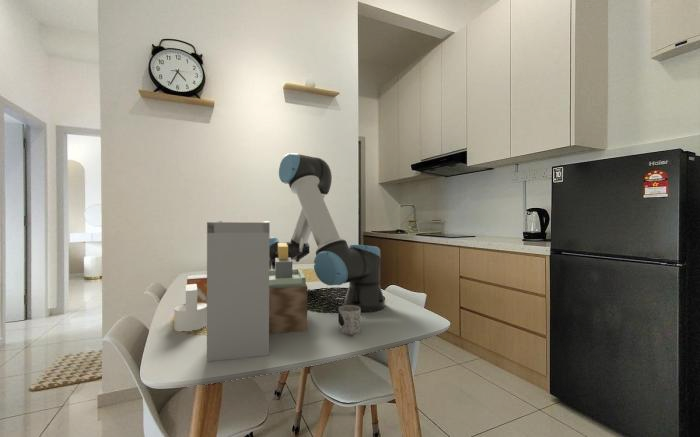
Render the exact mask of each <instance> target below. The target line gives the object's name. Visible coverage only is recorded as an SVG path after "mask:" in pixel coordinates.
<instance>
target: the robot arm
mask: <svg viewBox="0 0 700 437" xmlns="http://www.w3.org/2000/svg"><path fill="white" fill-rule="evenodd" d="M332 176H333V175H332V170H331V167H330V166H329V164H328V163H327V162H326V161H325V160H324V159H322V158H320V157H314V156H309V155H304V154H299V153H287V154H285V155H284V156H283V158H282V160H281V161H280V163H279V168H278V178H279V180H280V181H281V183H284V184H285V185H286V184H288V185H289V186H288V187H289V188H290V191H291V192H292V193H293V194H296V195H297V197H298V200H299V203H300V205H301V211H300V213H299V216H298V219H297V221H296V224H295V228H294V231H293V233H292V237H291V239H290V241H282V242H280V241H279V238H278V237H275V236H274V237H273V236H272V237H269V270H275V258H278V243H287V245H288V258H291V259H292V261H295V263H296V262H300V260H302V259H303V258H304V257H306V256H308V255H309V254H310V244H309V242H308V241H309V239H310V235H311V234H312V236H313V239H314V241H315V243H316V246H317V249H316V251H315V258H314V260H313V263H314V265H313V270H314V273H315V275H316V277H317V278H318V280H319V281H320V282H321V283H323V284H324V285H327V286H332V287H333V286H341V285H343V284H347V283H349V286H348V287H347V288H348V289H347V291H346V293H345V298H344V305H355V306H359V307H360V308H361V312H365V313H366V312H367V313H368V312H375V311H376V310H377V311H380V309H381V310H382V308H383V309H384V308H385V297H384V295H383V292H382V288H381V259H382V257H381V249H380V248H379V247H378V246H375V245H374V246H373V245H365V244H364V245H363V244H354V243H353V244H350V245H348V243H347V241H346V239H343V238H341V237H340V235H339V232H338V230H337V228H336V226H335V223H334V220H333V219H332V216H331V213H330V211H329V208H328V206H327V204H326V202H325V197H326V196H327V195H329V192H330V189H331V186H332V178H333V177H332ZM377 311H376V312H377Z"/></svg>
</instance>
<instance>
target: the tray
mask: <svg viewBox="0 0 700 437" xmlns="http://www.w3.org/2000/svg"><path fill="white" fill-rule="evenodd" d="M306 282H307V281H306V276H305V274H304V273H303V271H302V269H301V268H292V278H280V279H275V270H269V288H285V287H304V286H306V285H307V283H306Z"/></svg>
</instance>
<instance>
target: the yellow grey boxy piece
mask: <svg viewBox="0 0 700 437" xmlns="http://www.w3.org/2000/svg"><path fill="white" fill-rule="evenodd" d="M292 269H293V260H292V259H291V258H288V245H287V243H278V258H275V279H280V278H292Z"/></svg>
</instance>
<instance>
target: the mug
mask: <svg viewBox="0 0 700 437" xmlns="http://www.w3.org/2000/svg"><path fill="white" fill-rule="evenodd" d="M337 312H338V315H337V316H338V318H337V320H338V324H337V325H338V326H337V329H338V330H337V331H338V333H340V334H343V335H356V334H359V333H360V332H361V318H362V317H361V314H362V313H361V312H362V311H361V308H360V307H359V306H355V305H345V304H344V305H340V306H339V307H338V311H337Z"/></svg>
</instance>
